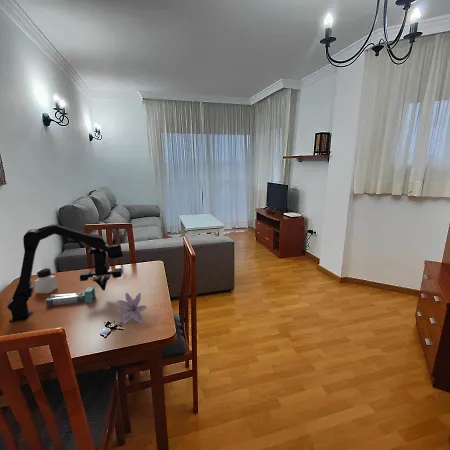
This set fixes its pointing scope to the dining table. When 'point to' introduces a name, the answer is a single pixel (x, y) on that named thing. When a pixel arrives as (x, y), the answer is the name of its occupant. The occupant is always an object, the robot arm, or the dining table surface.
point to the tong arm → (61, 295)
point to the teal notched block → (89, 294)
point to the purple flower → (130, 308)
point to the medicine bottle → (45, 281)
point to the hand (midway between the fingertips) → (104, 290)
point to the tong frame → (65, 300)
